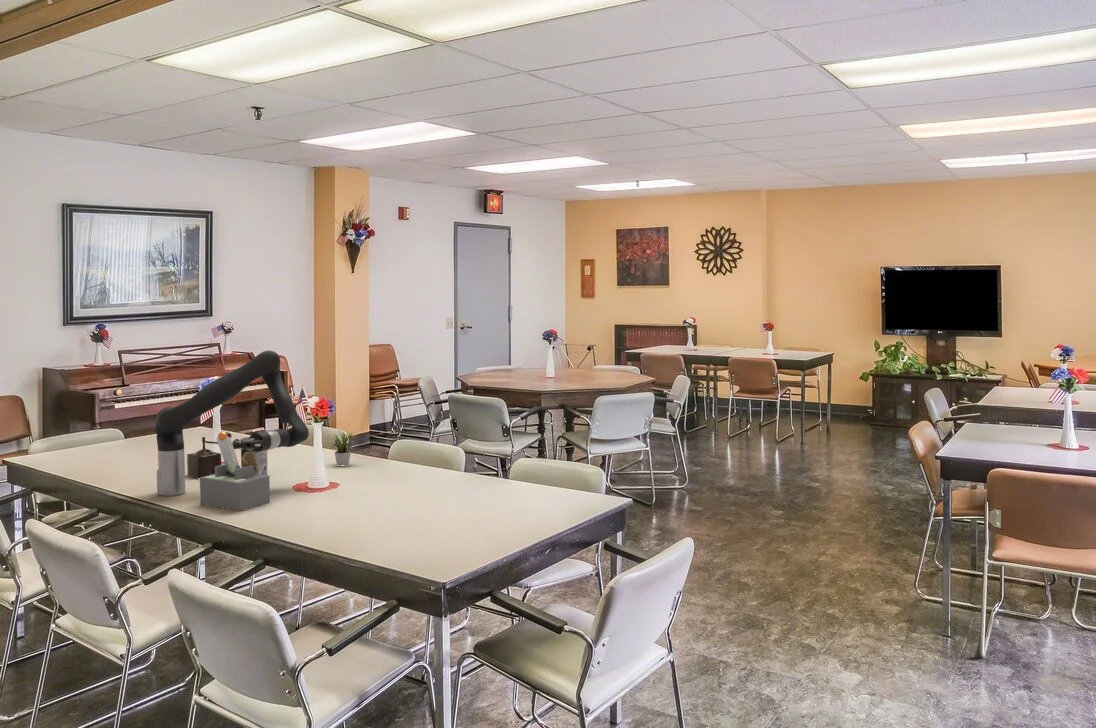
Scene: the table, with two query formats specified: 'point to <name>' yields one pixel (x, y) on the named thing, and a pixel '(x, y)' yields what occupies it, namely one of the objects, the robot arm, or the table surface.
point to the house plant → (342, 449)
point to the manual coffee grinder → (203, 461)
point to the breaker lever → (228, 453)
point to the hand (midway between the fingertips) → (229, 446)
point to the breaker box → (235, 488)
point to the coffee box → (254, 460)
